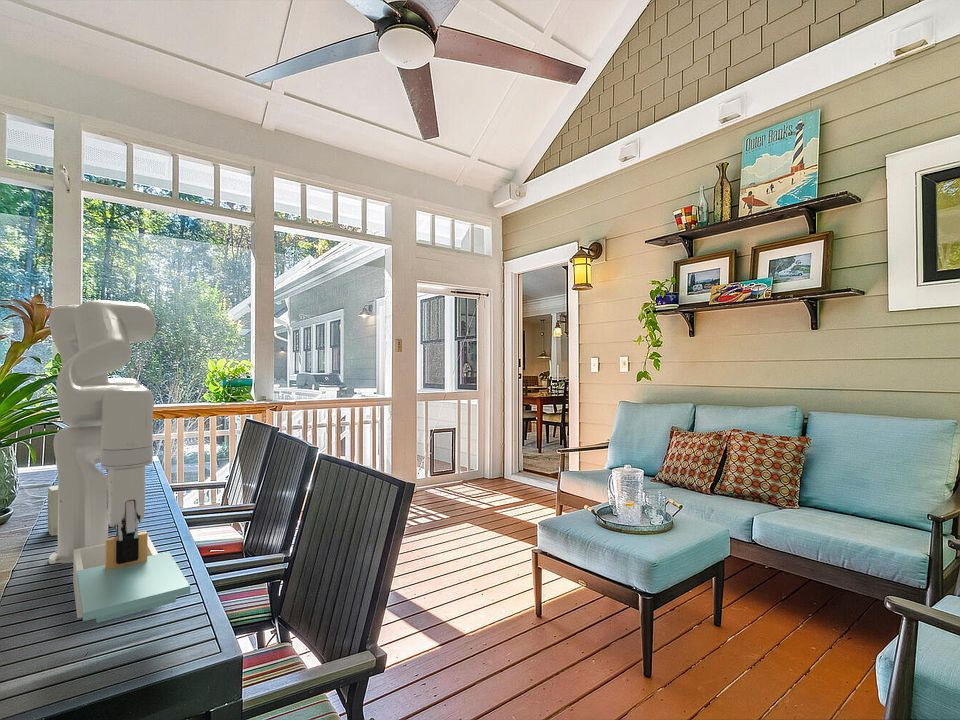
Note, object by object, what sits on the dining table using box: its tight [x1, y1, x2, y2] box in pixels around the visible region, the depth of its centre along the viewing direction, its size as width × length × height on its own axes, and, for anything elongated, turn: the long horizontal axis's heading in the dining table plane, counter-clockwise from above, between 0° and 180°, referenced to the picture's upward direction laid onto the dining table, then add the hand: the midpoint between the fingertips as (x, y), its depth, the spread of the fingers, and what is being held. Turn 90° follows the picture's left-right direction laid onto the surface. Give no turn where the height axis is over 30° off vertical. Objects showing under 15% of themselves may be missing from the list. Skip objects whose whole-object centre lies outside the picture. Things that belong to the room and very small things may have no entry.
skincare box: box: [47, 485, 58, 537], centre depth 135 cm, size 6×4×12 cm
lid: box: [77, 530, 191, 624], centre depth 84 cm, size 19×14×8 cm
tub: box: [72, 535, 159, 620], centre depth 101 cm, size 18×13×8 cm
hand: (126, 559), depth 89 cm, fingers closed on lid, 1 cm apart
